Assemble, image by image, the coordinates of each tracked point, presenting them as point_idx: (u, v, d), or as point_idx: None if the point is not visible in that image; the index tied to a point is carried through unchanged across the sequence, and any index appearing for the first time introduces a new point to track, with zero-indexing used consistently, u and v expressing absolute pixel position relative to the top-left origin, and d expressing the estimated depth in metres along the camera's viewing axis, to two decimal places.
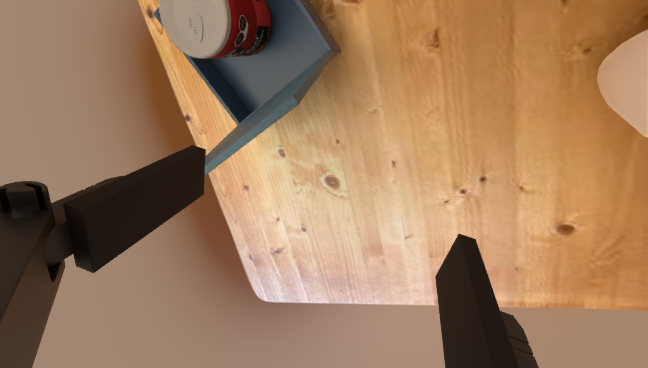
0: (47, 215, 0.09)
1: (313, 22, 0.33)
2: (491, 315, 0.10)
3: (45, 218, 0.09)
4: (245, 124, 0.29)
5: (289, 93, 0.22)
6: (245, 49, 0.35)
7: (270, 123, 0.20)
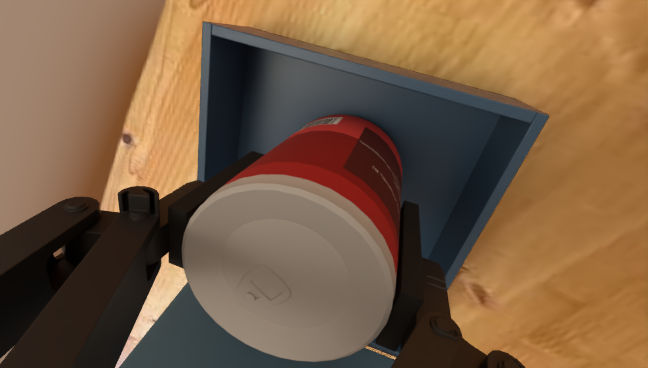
0: (154, 219, 0.10)
1: None
2: (412, 257, 0.11)
3: (152, 222, 0.10)
4: None
5: None
6: None
7: None
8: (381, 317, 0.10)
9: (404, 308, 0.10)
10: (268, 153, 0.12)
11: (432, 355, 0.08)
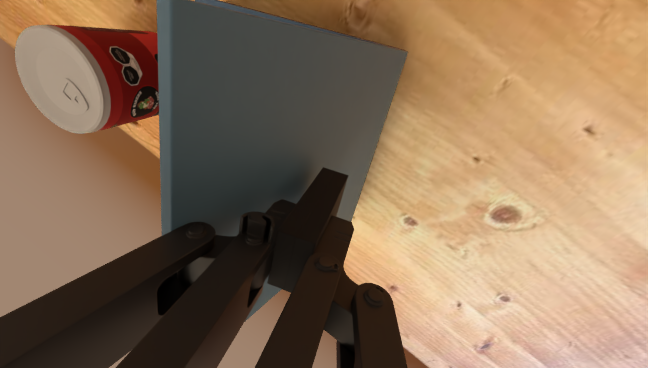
0: (266, 248, 0.10)
1: (355, 38, 0.22)
2: (320, 213, 0.12)
3: (263, 251, 0.10)
4: None
5: None
6: None
7: (168, 101, 0.08)
8: (46, 29, 0.21)
9: (301, 253, 0.11)
10: None
11: (318, 289, 0.09)
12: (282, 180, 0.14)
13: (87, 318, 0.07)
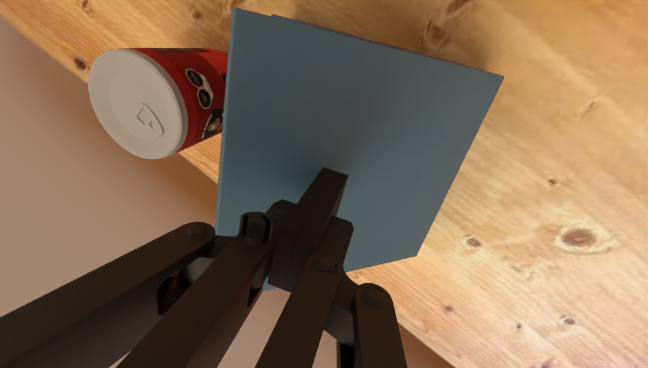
0: (265, 248, 0.10)
1: None
2: (320, 213, 0.12)
3: (263, 251, 0.10)
4: None
5: None
6: None
7: (229, 75, 0.12)
8: (126, 54, 0.20)
9: (301, 253, 0.11)
10: None
11: (318, 289, 0.09)
12: (325, 166, 0.17)
13: (87, 318, 0.07)
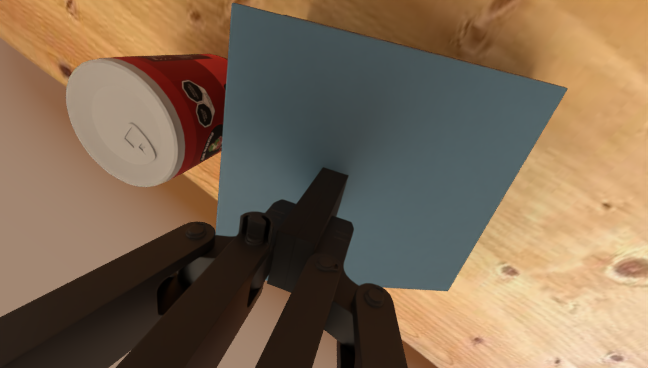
0: (265, 248, 0.10)
1: None
2: (321, 213, 0.12)
3: (263, 250, 0.10)
4: None
5: None
6: None
7: None
8: (109, 65, 0.16)
9: (301, 253, 0.11)
10: None
11: (318, 289, 0.09)
12: (326, 163, 0.17)
13: (87, 318, 0.07)
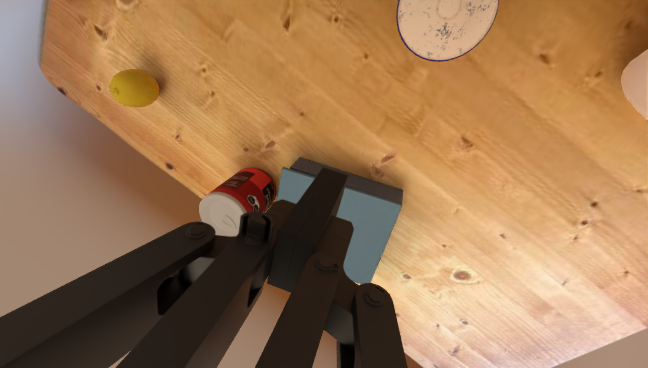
0: (265, 248, 0.10)
1: (376, 195, 0.43)
2: (320, 213, 0.12)
3: (263, 250, 0.10)
4: None
5: None
6: (264, 208, 0.48)
7: None
8: (222, 196, 0.42)
9: (301, 253, 0.11)
10: None
11: (318, 289, 0.09)
12: None
13: (87, 318, 0.07)
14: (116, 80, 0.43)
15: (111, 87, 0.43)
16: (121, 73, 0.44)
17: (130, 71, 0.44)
